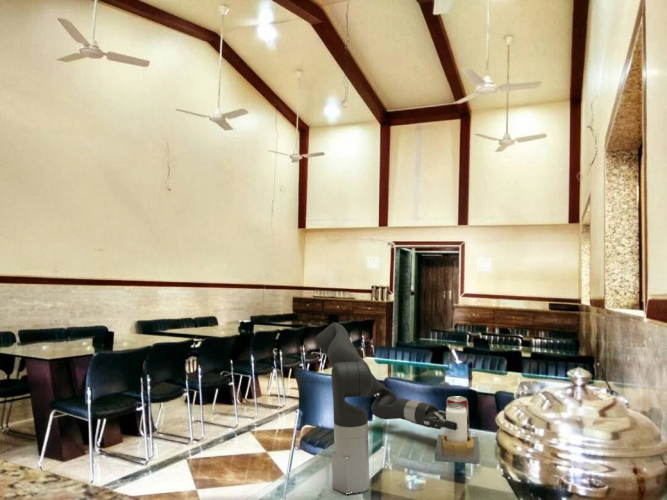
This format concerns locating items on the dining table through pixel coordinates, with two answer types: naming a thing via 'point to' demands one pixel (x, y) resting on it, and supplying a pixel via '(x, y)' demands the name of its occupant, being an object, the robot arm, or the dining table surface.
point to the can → (459, 416)
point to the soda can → (462, 401)
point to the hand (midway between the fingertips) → (462, 424)
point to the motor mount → (457, 450)
